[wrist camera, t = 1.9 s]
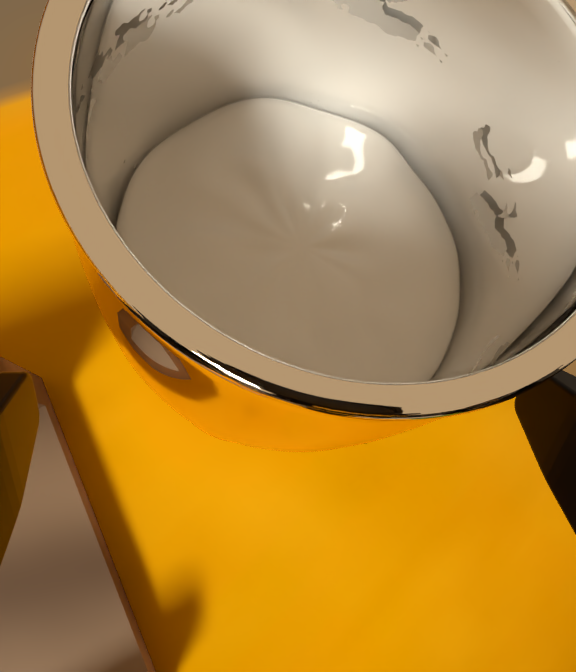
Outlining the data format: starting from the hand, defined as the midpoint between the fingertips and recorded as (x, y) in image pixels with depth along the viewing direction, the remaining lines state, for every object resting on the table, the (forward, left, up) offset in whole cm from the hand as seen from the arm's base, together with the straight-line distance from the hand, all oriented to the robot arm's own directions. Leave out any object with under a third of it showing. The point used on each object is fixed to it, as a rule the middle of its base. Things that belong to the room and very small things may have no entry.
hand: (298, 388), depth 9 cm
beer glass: (+2, -2, -10) cm, 11 cm away
